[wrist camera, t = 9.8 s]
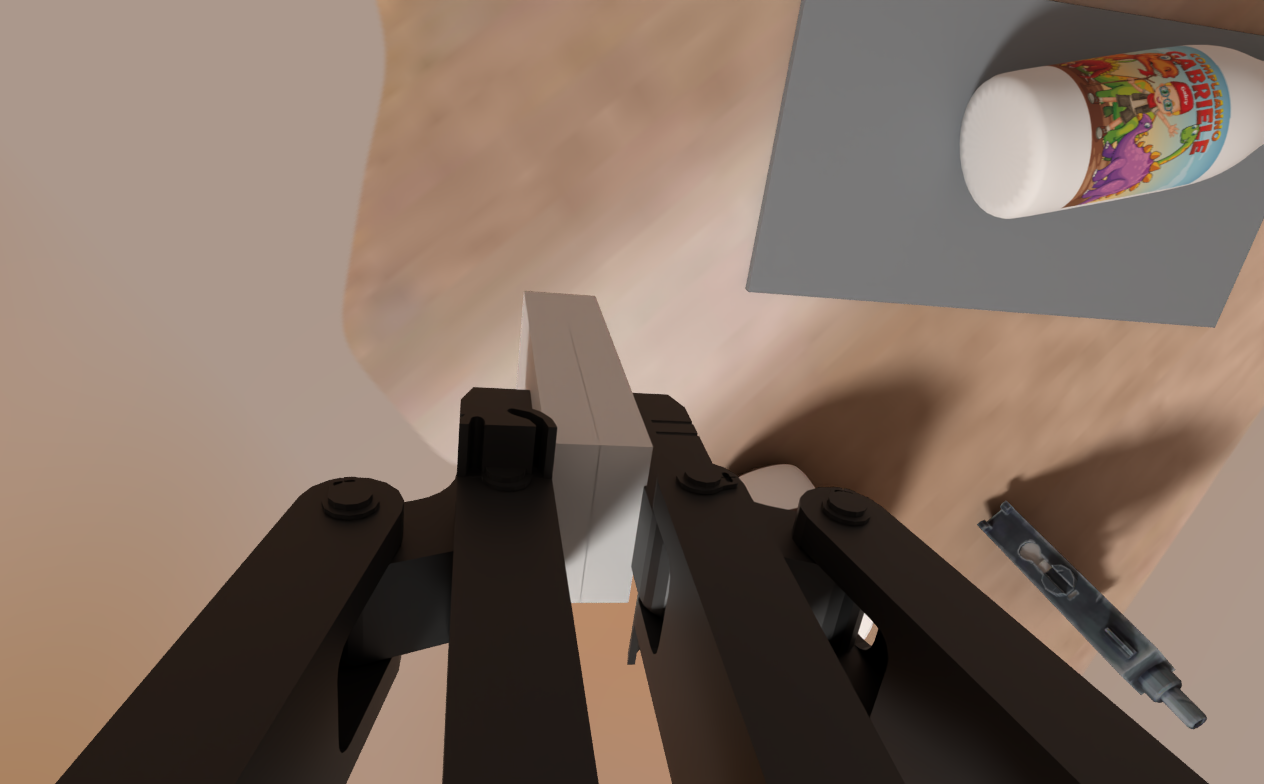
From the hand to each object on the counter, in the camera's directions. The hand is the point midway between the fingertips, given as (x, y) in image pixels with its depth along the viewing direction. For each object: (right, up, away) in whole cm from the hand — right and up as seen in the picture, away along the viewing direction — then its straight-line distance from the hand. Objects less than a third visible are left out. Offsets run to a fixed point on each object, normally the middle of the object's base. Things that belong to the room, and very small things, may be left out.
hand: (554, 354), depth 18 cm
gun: (+33, -13, +47) cm, 59 cm away
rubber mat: (+26, +13, +33) cm, 44 cm away
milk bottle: (+21, +12, +27) cm, 36 cm away
